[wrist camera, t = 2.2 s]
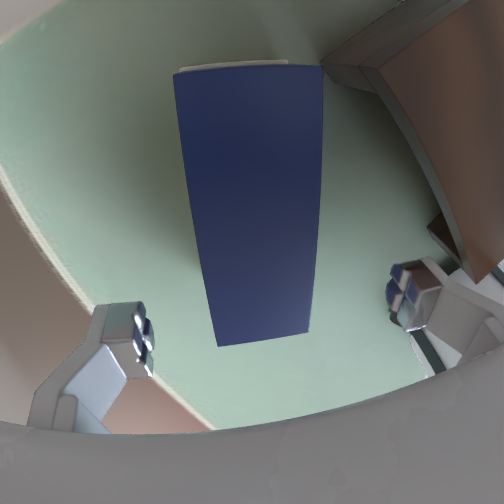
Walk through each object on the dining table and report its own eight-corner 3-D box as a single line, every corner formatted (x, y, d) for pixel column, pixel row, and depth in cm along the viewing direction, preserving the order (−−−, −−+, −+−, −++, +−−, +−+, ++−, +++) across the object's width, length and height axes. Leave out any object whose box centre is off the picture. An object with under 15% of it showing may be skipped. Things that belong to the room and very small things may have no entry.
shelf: (436, -19, 10) (506, -23, 6) (511, 158, 18) (560, 190, 14) (318, 63, 14) (377, 69, 9) (431, 237, 22) (476, 285, 17)
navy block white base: (180, 67, 13) (168, 68, 8) (281, 59, 13) (326, 60, 9) (209, 277, 20) (216, 349, 16) (284, 267, 21) (310, 334, 16)
